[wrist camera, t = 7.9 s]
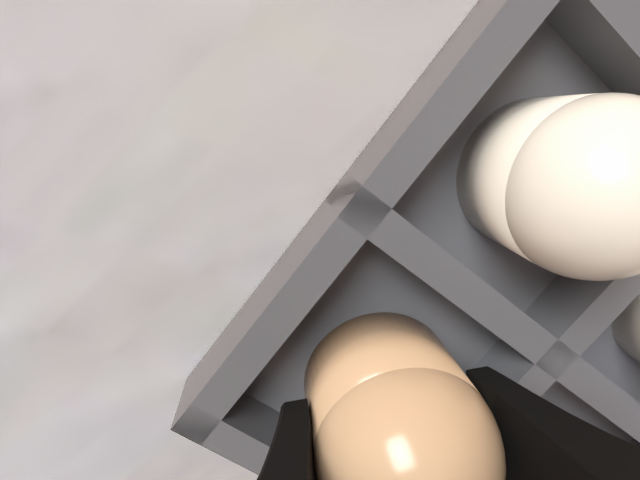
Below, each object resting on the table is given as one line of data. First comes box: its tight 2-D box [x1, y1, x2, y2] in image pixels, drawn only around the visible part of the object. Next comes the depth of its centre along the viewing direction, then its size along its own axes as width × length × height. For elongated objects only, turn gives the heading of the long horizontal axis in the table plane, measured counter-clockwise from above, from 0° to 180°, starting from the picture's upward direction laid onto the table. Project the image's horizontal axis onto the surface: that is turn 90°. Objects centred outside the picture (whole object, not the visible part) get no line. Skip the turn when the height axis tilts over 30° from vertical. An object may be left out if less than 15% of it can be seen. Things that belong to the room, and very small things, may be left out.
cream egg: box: [456, 92, 640, 281], centre depth 11 cm, size 4×4×5 cm
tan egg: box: [304, 312, 506, 480], centre depth 10 cm, size 4×4×5 cm
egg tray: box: [171, 0, 640, 475], centre depth 14 cm, size 16×16×2 cm
